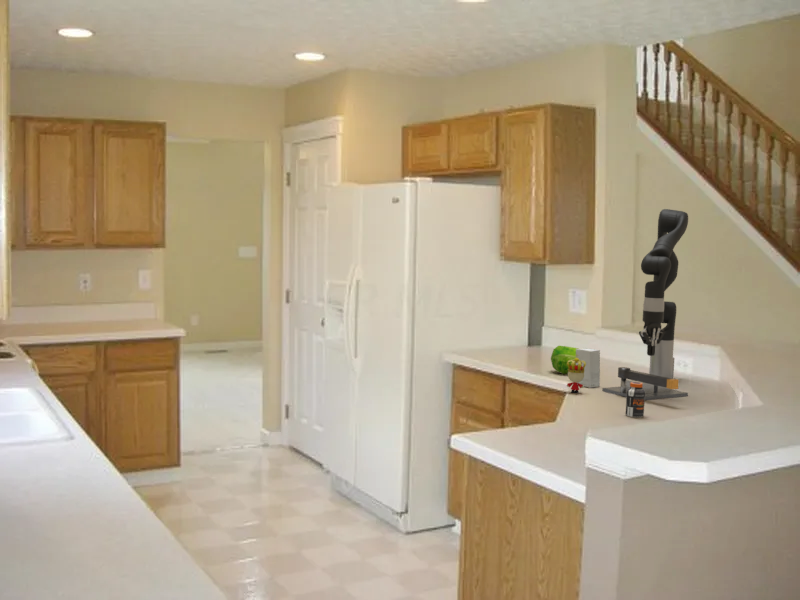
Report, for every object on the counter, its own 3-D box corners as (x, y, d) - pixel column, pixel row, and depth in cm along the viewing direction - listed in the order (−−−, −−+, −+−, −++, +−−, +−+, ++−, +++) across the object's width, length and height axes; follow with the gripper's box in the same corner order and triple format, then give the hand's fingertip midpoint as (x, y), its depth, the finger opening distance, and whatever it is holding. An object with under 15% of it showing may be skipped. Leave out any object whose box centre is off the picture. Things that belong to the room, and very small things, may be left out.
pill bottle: (632, 418, 295) (634, 384, 294) (621, 414, 300) (623, 381, 299) (647, 417, 297) (649, 383, 296) (636, 413, 303) (637, 380, 302)
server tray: (648, 386, 356) (649, 370, 356) (687, 396, 339) (688, 378, 338) (602, 391, 344) (603, 374, 343) (640, 400, 326) (641, 382, 326)
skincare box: (599, 387, 352) (601, 350, 351) (589, 388, 349) (590, 350, 348) (584, 383, 359) (586, 347, 358) (573, 384, 356) (575, 348, 355)
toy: (585, 392, 340) (587, 353, 339) (583, 395, 333) (585, 355, 332) (567, 390, 342) (568, 352, 341) (564, 393, 336) (566, 354, 334)
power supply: (636, 388, 345) (637, 377, 345) (653, 392, 337) (654, 381, 337) (623, 389, 341) (623, 379, 341) (640, 393, 334) (641, 383, 333)
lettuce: (598, 377, 375) (599, 349, 374) (550, 375, 378) (551, 347, 377) (596, 372, 388) (597, 345, 387) (549, 370, 391) (550, 343, 390)
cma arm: (679, 388, 315) (679, 378, 315) (670, 389, 313) (671, 379, 312) (623, 376, 338) (624, 366, 338) (615, 376, 336) (615, 367, 335)
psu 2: (653, 386, 350) (653, 376, 349) (670, 390, 342) (671, 380, 341) (640, 388, 346) (640, 377, 346) (657, 392, 338) (658, 381, 338)
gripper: (650, 311, 324) (647, 358, 326) (673, 309, 332) (670, 355, 333) (633, 309, 330) (631, 355, 332) (656, 307, 338) (654, 352, 339)
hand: (650, 355), depth 333 cm, fingers closed
